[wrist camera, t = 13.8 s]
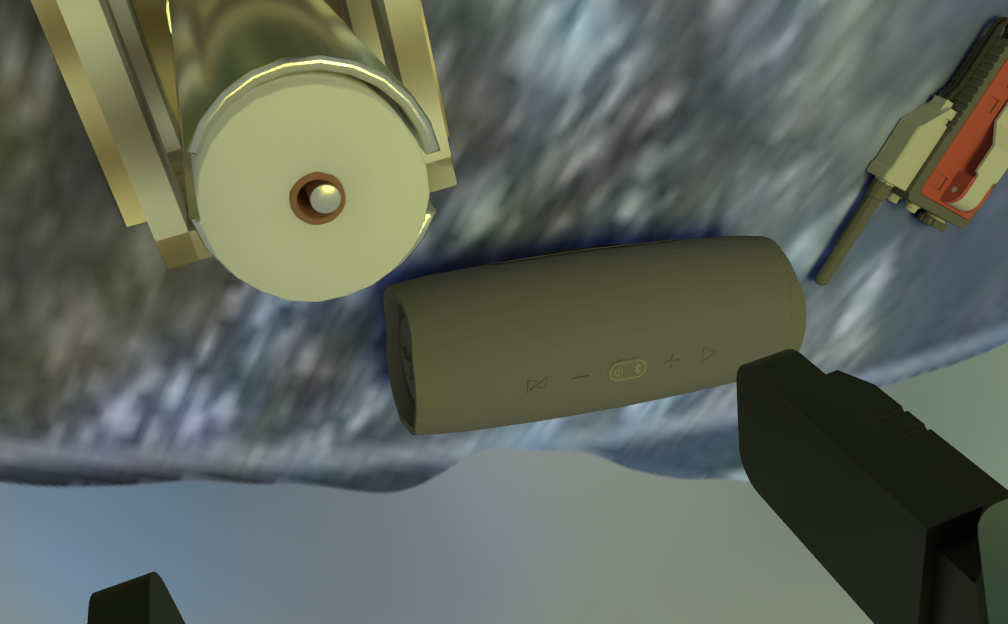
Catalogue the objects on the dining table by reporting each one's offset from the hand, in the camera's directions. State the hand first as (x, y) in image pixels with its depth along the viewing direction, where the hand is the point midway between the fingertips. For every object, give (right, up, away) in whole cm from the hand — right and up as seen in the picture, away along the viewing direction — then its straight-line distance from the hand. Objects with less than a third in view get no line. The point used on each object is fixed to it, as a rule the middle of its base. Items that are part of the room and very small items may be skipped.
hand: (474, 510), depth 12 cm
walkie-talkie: (+29, +13, +50) cm, 59 cm away
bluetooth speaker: (+4, +4, +45) cm, 46 cm away
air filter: (-12, +17, +31) cm, 37 cm away
